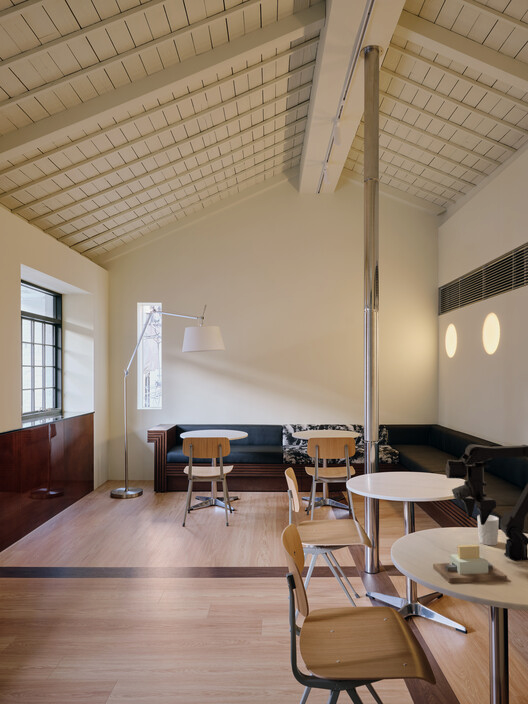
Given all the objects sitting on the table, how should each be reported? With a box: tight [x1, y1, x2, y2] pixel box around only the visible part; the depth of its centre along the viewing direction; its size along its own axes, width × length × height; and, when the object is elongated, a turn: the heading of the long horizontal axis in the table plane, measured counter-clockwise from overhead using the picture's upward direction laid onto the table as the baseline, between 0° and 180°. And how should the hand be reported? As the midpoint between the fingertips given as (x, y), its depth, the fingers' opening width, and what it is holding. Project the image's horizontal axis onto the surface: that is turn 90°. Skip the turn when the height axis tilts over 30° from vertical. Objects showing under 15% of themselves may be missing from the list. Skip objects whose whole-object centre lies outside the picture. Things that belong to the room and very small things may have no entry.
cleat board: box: [432, 561, 508, 584], centre depth 169 cm, size 20×12×3 cm, turn 95°
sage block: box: [449, 544, 489, 574], centre depth 169 cm, size 10×7×8 cm
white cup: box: [476, 514, 500, 546], centre depth 199 cm, size 8×8×10 cm
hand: (476, 520), depth 185 cm, fingers open, 9 cm apart
